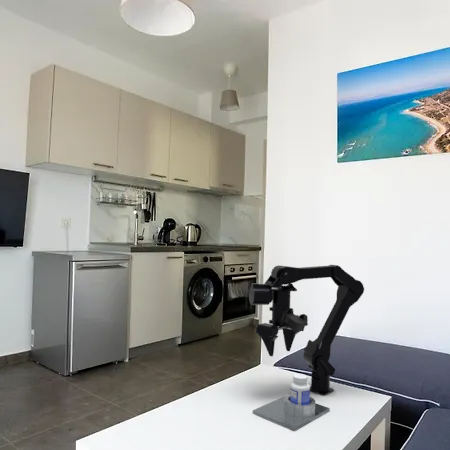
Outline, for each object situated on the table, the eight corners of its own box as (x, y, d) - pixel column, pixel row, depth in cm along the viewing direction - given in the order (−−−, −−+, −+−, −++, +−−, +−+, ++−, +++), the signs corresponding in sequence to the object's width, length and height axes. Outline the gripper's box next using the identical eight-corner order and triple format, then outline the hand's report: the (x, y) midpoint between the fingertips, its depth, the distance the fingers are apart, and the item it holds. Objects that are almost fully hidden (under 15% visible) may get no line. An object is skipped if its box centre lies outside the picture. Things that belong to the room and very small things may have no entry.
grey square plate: (289, 396, 124) (289, 384, 124) (329, 411, 114) (329, 397, 114) (252, 413, 111) (252, 399, 111) (294, 431, 101) (294, 416, 101)
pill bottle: (309, 407, 114) (310, 373, 114) (309, 415, 108) (310, 380, 109) (290, 405, 115) (291, 371, 115) (289, 413, 110) (290, 378, 110)
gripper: (284, 311, 115) (283, 365, 115) (318, 305, 129) (317, 353, 128) (255, 306, 123) (253, 356, 122) (289, 301, 136) (288, 346, 136)
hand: (279, 353), depth 127 cm, fingers open, 9 cm apart
